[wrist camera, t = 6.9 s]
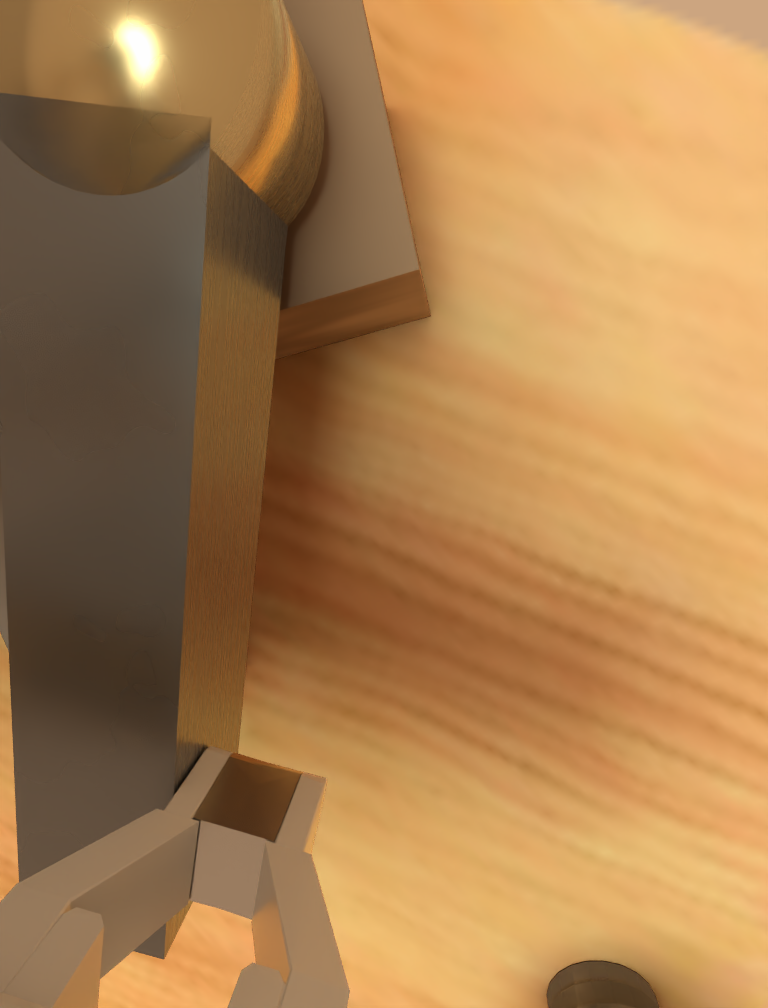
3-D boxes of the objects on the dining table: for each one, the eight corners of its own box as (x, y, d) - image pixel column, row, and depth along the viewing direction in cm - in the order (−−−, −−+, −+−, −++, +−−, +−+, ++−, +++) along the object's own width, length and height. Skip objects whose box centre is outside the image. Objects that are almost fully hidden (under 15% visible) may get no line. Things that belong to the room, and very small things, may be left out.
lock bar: (109, -16, 8) (-71, -230, 5) (338, 7, 8) (276, -209, 5) (101, 792, 13) (-3, 913, 10) (249, 828, 12) (188, 966, 9)
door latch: (53, 699, 21) (-315, 992, 11) (-188, 136, 17) (-1180, -255, 6) (497, 628, 18) (564, 955, 8) (342, -100, 13) (0, -1666, 3)
